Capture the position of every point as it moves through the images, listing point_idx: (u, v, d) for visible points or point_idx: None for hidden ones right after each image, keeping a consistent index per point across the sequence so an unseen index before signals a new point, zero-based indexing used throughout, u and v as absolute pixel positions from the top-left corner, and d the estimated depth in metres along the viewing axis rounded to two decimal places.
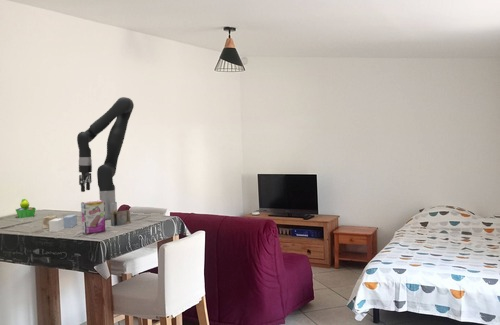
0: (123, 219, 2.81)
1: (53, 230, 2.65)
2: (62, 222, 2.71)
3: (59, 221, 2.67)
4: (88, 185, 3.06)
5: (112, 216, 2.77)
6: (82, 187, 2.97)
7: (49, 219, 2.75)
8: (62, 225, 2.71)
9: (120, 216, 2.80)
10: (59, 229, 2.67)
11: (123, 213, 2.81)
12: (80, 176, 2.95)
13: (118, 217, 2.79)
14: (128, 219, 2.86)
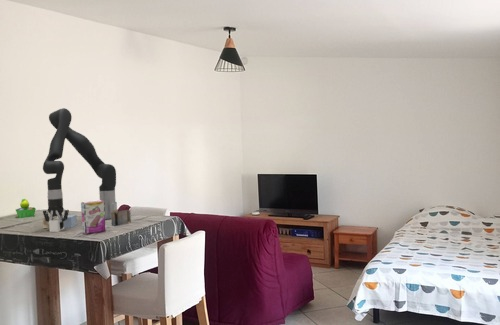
0: (124, 219, 2.82)
1: (53, 230, 2.65)
2: None
3: (59, 221, 2.67)
4: None
5: (113, 216, 2.77)
6: (63, 223, 2.68)
7: None
8: None
9: (121, 216, 2.81)
10: (59, 229, 2.67)
11: (124, 213, 2.82)
12: (67, 212, 2.67)
13: (119, 217, 2.80)
14: (128, 219, 2.86)
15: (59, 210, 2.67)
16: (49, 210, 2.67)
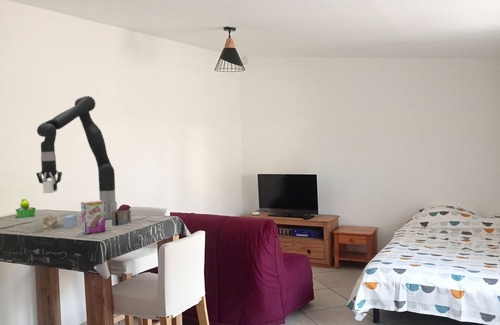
0: (124, 219, 2.83)
1: (47, 191, 2.71)
2: None
3: None
4: None
5: (113, 216, 2.78)
6: (56, 185, 2.75)
7: (49, 219, 2.75)
8: None
9: (121, 216, 2.81)
10: (53, 190, 2.74)
11: (124, 213, 2.83)
12: (60, 173, 2.74)
13: (119, 217, 2.80)
14: (129, 219, 2.87)
15: (52, 172, 2.74)
16: (43, 172, 2.74)
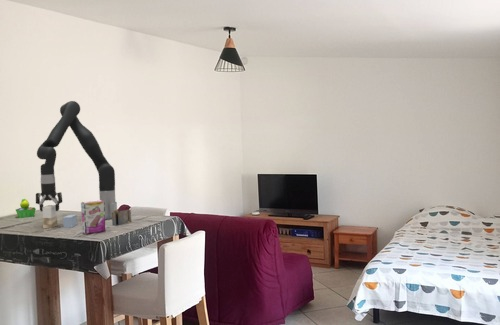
0: (124, 218, 2.83)
1: (46, 216, 2.75)
2: (55, 208, 2.81)
3: (52, 207, 2.77)
4: (42, 205, 2.79)
5: (114, 216, 2.78)
6: (58, 206, 2.78)
7: (49, 219, 2.75)
8: (55, 211, 2.81)
9: (121, 215, 2.81)
10: (52, 215, 2.77)
11: (124, 213, 2.83)
12: (60, 194, 2.77)
13: (119, 216, 2.80)
14: (129, 218, 2.87)
15: (51, 194, 2.77)
16: (42, 194, 2.77)
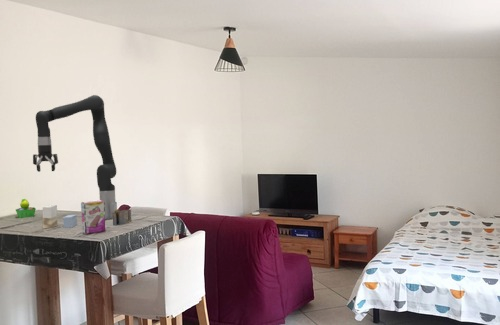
0: (125, 218, 2.84)
1: (46, 216, 2.75)
2: (55, 208, 2.81)
3: (52, 207, 2.77)
4: (39, 166, 2.98)
5: (114, 215, 2.79)
6: (54, 166, 2.97)
7: (49, 219, 2.75)
8: (55, 211, 2.81)
9: (122, 215, 2.82)
10: (52, 215, 2.77)
11: (125, 212, 2.84)
12: (56, 155, 2.96)
13: (120, 216, 2.81)
14: (129, 218, 2.88)
15: (48, 155, 2.96)
16: (39, 155, 2.96)
